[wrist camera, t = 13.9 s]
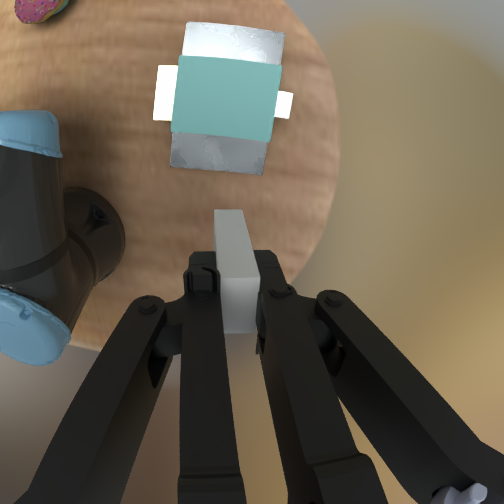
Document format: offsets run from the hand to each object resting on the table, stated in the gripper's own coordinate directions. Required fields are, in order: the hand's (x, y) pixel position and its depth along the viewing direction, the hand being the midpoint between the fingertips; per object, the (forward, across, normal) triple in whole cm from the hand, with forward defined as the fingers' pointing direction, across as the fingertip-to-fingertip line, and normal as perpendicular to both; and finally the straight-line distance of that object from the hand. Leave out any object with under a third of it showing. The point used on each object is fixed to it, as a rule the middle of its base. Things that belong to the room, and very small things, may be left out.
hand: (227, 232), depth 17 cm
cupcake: (+26, -24, +24) cm, 43 cm away
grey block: (+25, +1, +7) cm, 26 cm away
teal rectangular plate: (+16, 0, +7) cm, 18 cm away
